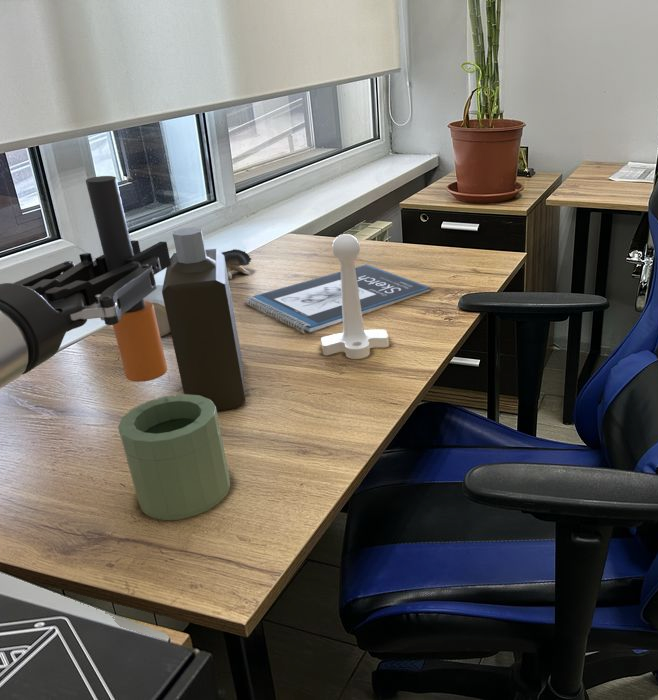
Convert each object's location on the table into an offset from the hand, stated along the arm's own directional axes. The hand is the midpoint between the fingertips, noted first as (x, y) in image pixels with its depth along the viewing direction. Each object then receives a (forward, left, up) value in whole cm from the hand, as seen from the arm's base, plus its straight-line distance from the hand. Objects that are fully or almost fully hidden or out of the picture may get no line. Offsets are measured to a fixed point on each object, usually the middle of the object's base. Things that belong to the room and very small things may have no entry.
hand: (151, 252), depth 80 cm
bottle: (-6, +17, -28) cm, 34 cm away
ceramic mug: (-26, +37, -28) cm, 54 cm away
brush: (0, -5, -13) cm, 14 cm away
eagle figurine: (-28, +65, -28) cm, 77 cm away
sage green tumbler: (+3, -8, -28) cm, 29 cm away
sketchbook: (0, +56, -28) cm, 63 cm away
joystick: (+11, +33, -28) cm, 45 cm away
